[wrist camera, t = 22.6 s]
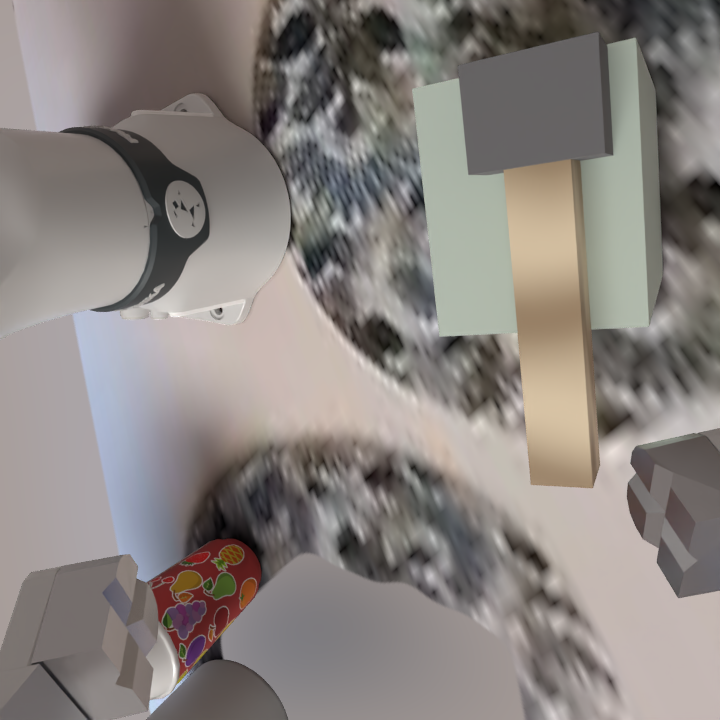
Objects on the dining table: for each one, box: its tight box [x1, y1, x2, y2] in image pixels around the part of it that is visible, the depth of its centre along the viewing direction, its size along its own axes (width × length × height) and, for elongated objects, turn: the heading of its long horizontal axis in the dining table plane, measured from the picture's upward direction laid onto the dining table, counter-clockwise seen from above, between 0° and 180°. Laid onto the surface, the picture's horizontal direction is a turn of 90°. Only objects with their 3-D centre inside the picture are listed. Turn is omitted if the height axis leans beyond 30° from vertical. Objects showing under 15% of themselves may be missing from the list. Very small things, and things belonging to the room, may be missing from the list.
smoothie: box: [146, 538, 261, 700], centre depth 56 cm, size 8×8×20 cm
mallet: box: [458, 32, 613, 488], centre depth 27 cm, size 17×5×3 cm, turn 9°
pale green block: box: [412, 38, 663, 336], centre depth 35 cm, size 9×11×17 cm
